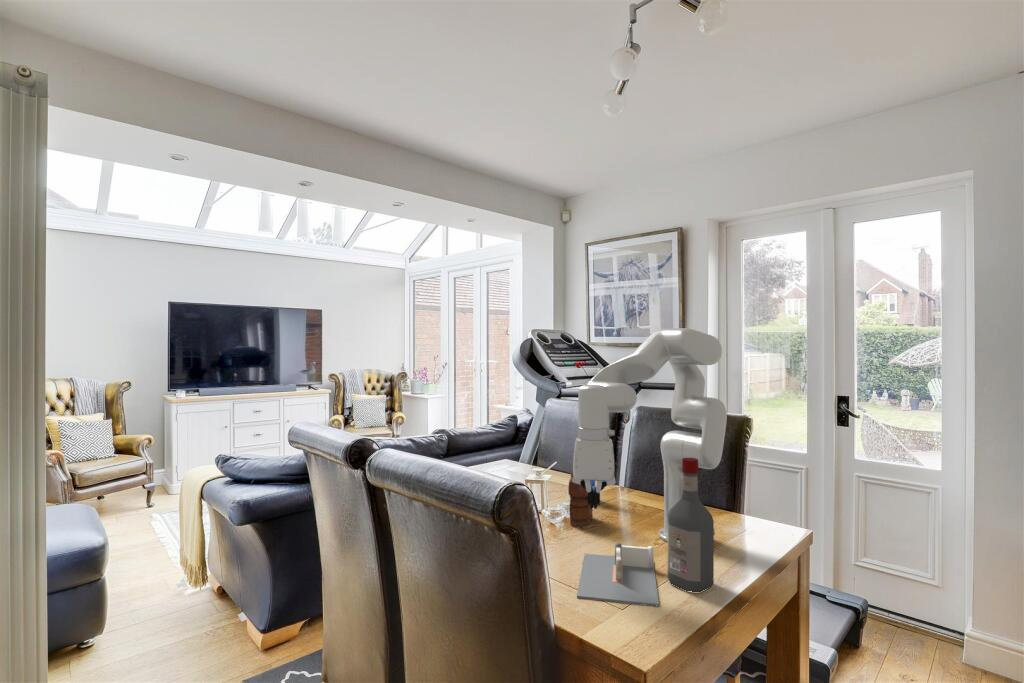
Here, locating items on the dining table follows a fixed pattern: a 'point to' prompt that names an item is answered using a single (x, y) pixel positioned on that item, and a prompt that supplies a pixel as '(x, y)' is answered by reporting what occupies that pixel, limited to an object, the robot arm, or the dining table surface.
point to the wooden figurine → (579, 504)
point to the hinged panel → (618, 565)
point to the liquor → (690, 536)
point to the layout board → (635, 577)
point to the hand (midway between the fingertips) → (593, 506)
